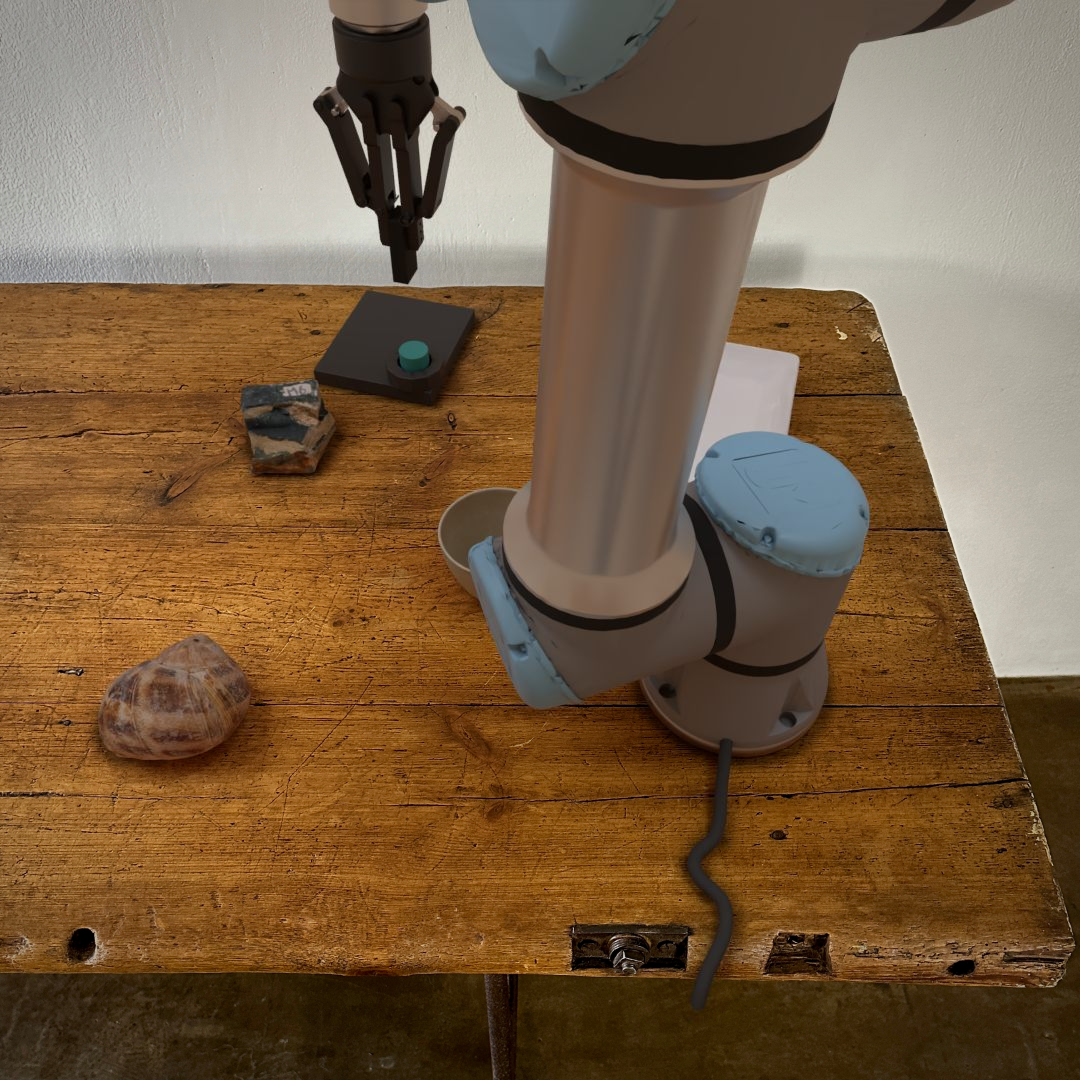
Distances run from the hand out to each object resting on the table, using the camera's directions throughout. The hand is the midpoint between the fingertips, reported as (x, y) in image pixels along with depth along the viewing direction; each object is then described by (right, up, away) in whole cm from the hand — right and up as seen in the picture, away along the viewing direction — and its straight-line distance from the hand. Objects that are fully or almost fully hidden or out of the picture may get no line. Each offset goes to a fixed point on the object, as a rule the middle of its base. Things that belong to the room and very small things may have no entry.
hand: (405, 275), depth 93 cm
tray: (+28, -18, +4) cm, 33 cm away
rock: (-12, -16, +4) cm, 20 cm away
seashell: (-15, -40, -16) cm, 45 cm away
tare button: (0, -7, +8) cm, 10 cm away
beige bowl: (+9, -29, -7) cm, 31 cm away
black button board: (-3, -5, +14) cm, 15 cm away
